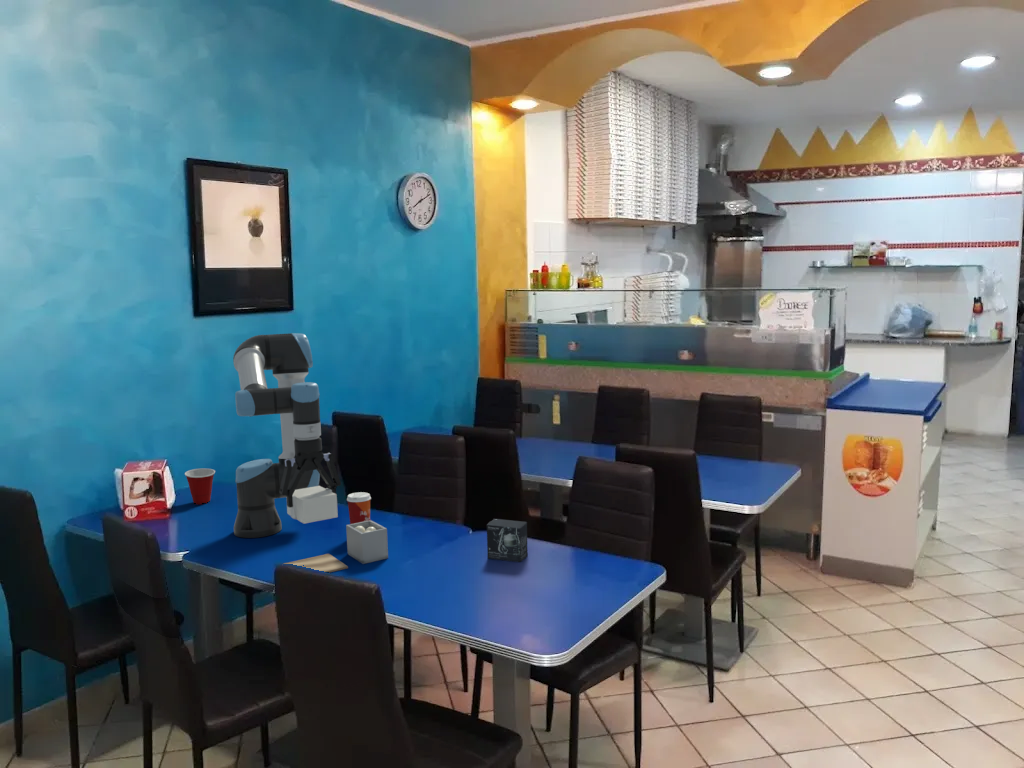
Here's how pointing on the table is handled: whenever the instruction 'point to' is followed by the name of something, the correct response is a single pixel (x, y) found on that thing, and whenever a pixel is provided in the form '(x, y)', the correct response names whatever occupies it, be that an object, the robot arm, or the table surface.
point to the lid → (314, 504)
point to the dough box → (367, 541)
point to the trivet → (321, 563)
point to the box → (507, 540)
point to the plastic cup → (200, 484)
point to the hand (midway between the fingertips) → (312, 514)
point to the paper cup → (359, 507)
